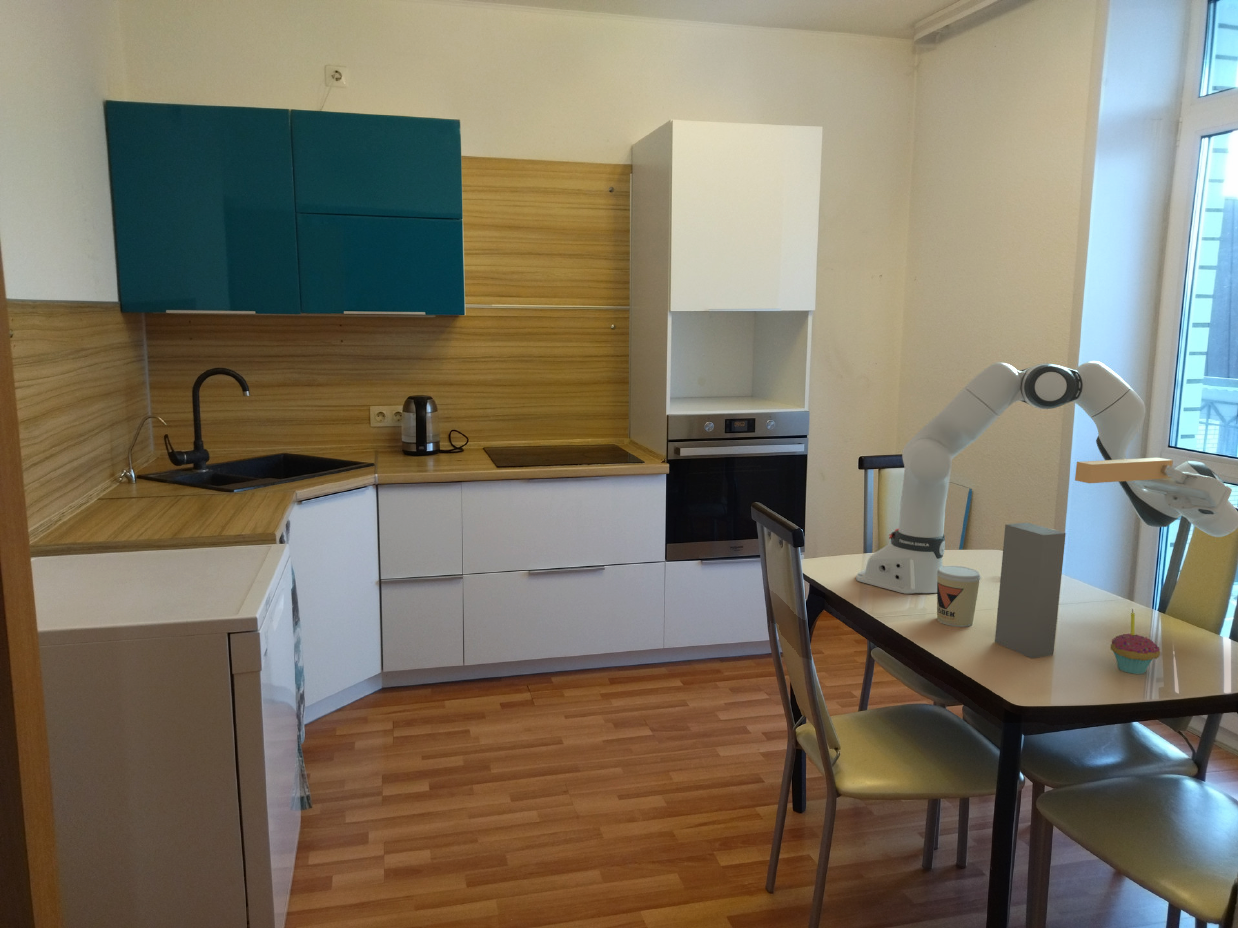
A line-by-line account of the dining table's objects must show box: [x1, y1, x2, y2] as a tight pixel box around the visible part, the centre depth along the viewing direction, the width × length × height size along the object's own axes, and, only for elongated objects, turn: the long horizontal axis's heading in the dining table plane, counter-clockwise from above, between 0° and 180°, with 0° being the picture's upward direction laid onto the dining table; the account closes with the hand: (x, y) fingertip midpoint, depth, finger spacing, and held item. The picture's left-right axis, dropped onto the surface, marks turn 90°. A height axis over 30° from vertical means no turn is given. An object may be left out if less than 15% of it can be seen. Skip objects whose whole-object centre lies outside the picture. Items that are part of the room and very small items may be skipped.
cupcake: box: [1110, 608, 1161, 675], centre depth 176 cm, size 9×8×12 cm
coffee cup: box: [936, 565, 982, 628], centre depth 204 cm, size 9×9×12 cm
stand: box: [994, 522, 1067, 659], centre depth 186 cm, size 6×10×26 cm, turn 21°
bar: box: [1074, 457, 1174, 484], centre depth 190 cm, size 24×4×4 cm, turn 111°
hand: (1153, 466), depth 193 cm, fingers closed on bar, 4 cm apart
